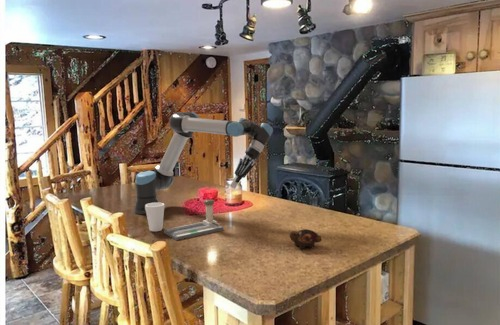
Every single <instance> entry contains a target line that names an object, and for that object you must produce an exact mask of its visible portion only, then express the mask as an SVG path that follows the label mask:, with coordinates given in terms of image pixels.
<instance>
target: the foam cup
mask: <svg viewBox="0 0 500 325" xmlns="http://www.w3.org/2000/svg"><path fill="white" fill-rule="evenodd" d="M145 210H146V214H145V215H146V218H147V224H148V229H149V231H150V232H160V231H162V230H163V227H164V226H163V224H164V214H165V203H163V202H159V203H149V204H146V205H145Z"/></svg>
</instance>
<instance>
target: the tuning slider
mask: <svg viewBox="0 0 500 325" xmlns="http://www.w3.org/2000/svg"><path fill="white" fill-rule="evenodd" d="M214 204H215V200H214V199H204V200H203V205H205V219H204V220H202V222H203V225H205V226H208V225H213V224H214V225H216V226H218V225H217V224H218V221H217V220H215V219H214V209H213V208H214Z"/></svg>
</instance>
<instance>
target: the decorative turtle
mask: <svg viewBox="0 0 500 325" xmlns="http://www.w3.org/2000/svg"><path fill="white" fill-rule="evenodd" d="M289 238H290V240H291V241H292V242H293V243H294V245H295V246H296V247H299V249H300V250H304V249H305V248H306V247H308V248H309V249H313V248H314V246H315V244H316V243H320V242H322V240H323V237H322V236H321V235H319V234H318V233H317V232H316V231H313V230H312V229H309V228H308V229H305V228H304V229H300V230H299V231H296V230H292V231H291V232H290V233H289ZM312 247H313V248H312Z"/></svg>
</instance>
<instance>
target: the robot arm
mask: <svg viewBox="0 0 500 325" xmlns="http://www.w3.org/2000/svg"><path fill="white" fill-rule="evenodd" d="M168 126H169V128H170V129H171V130H172V131H173V132H174V133H173V135H172V137H171V139H170V142H169V144H168V146H167V148H166V149H165V153H164V155H163V157H162V159H161V161H160V163H159V164H157V165H156V166H155V168H154V171H153V170H146V171H141V172H138V173H137V174H135V190H136V191H135V193H136V194H135V195H136V200H135V205H134V207H133V210H134V212H133V213H135V214H137V215H138V214H139V215H147V214H146V210H145V205H146V204H149V203H160V202H159V200H158V197H157V192H158V191H161V190H166V189H167V188H169V187H171V186H172V185H173V183H174V171H173V170H174V169H175V166H176V164H177V162H178V160H179V157H180V155H181V154H182V151H183V150H184V147H185V146H186V143H187V142H188V139H190V138H191V139H192V137H193V134H194V132H195V133H196V132H197V133H205V134H215V135H226V136H231V137H234V138H236V137H240V136H249V137H251V138H252V139H251V141H250V143H249V145H248V146H247V148H246V150H245V151H244V152H245V156H243V158H241V157H240V158H239V161H238V164H237V166H236V169H235V172H234V174H235V176H234V178H233V180H232V181H231V183H230V185H229V187H230V188H232V189H234V190H235V189H236V188H237V186H238V184H239V183H240V181H241V180H242V179H243V178H246V177H247V175H248V174H249V172H250V171H251V170H252V168H253V167H255V165H256V162H255V161H256V160H257V159H258V158H259V156H260V154H261V153H262V151H263V150H264V147H265V146H266V145H267V142H268V141H269V139H270V138H271V136H272V134H273V132H274V129H273V127H272V126H271V125H270V124H268V123H265V122H262V123H261V124H257V123H255V122H253V121H251V120H249V119H248V118H244V117H241V118H239V119H238V121H234V120H225V119H224V120H223V119H211V118H200V116H199V115H198V114H197V113H196V112H193V111H184V112H183V111H181V112H180V111H178V112H175V113H173V114H172V115H171V116H170V117H169V120H168Z"/></svg>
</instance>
